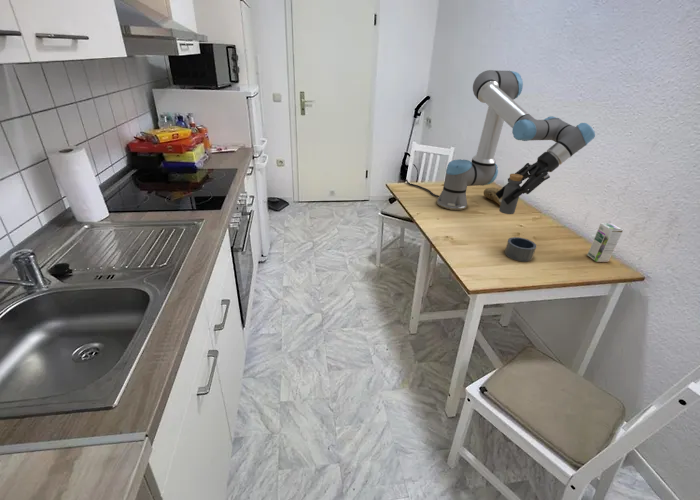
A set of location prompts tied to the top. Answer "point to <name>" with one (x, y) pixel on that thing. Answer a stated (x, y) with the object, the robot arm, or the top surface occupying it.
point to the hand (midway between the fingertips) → (501, 199)
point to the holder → (520, 249)
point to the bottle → (509, 188)
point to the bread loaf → (492, 194)
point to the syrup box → (604, 242)
